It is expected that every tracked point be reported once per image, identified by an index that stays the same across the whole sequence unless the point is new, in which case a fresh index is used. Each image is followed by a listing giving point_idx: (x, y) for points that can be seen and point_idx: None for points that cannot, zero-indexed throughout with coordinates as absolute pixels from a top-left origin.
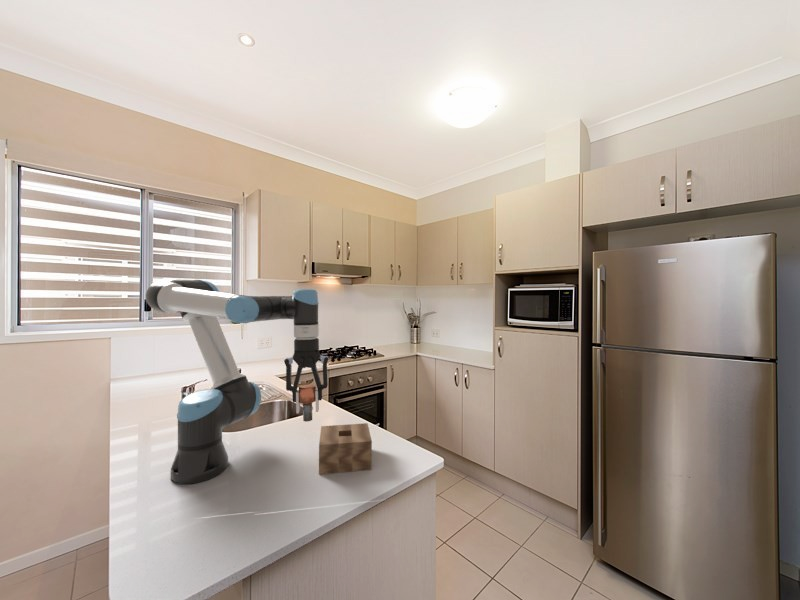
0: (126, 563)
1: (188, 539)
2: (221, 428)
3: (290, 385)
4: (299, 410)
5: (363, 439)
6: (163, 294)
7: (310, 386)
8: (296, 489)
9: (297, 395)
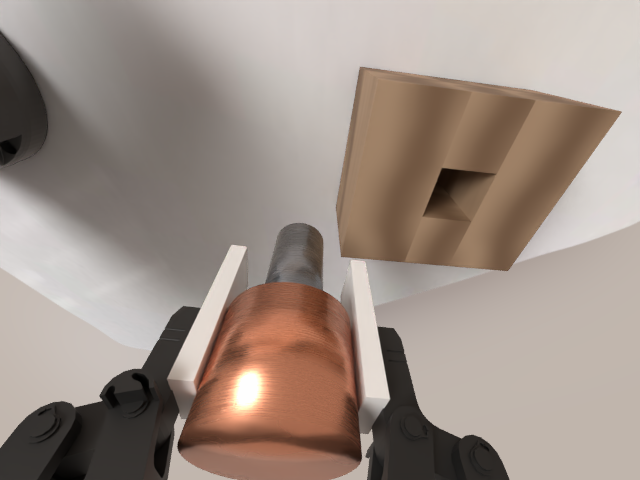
0: (93, 321)
1: (145, 306)
2: None
3: (53, 458)
4: (245, 270)
5: (491, 256)
6: None
7: (305, 457)
8: None
9: None
